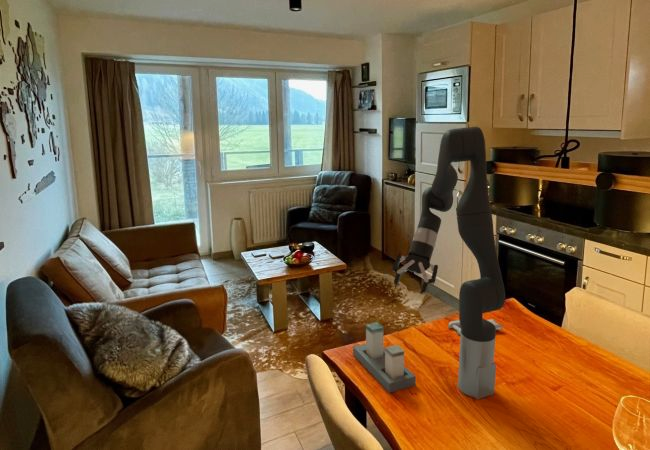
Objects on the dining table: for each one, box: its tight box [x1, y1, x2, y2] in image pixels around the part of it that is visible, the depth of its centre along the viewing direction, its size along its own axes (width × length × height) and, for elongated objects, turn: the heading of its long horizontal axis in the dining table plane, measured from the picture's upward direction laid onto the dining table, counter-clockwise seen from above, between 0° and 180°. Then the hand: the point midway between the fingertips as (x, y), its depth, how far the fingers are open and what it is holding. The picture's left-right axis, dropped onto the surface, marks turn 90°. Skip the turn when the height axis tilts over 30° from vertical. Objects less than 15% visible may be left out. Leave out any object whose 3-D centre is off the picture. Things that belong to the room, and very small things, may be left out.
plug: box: [365, 321, 384, 359], centre depth 139 cm, size 4×4×12 cm
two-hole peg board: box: [352, 343, 417, 393], centre depth 135 cm, size 23×9×10 cm, turn 23°
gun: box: [447, 318, 503, 336], centre depth 160 cm, size 18×3×10 cm
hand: (408, 289), depth 142 cm, fingers open, 8 cm apart
